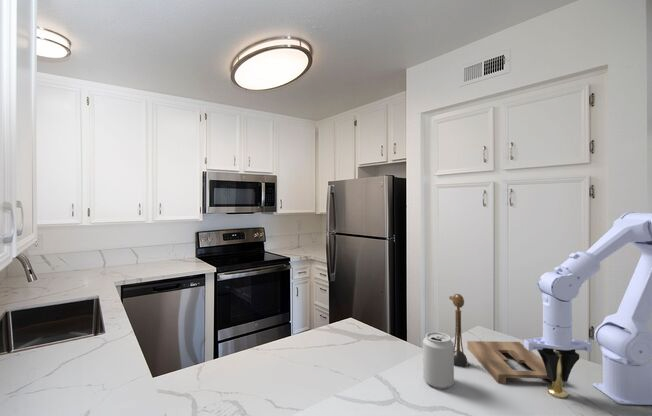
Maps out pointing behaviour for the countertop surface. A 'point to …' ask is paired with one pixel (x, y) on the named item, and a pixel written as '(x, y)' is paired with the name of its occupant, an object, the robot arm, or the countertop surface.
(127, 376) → the countertop surface
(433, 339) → the can
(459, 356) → the wooden tabletop sculpture
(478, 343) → the keyhole plate
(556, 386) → the peg
